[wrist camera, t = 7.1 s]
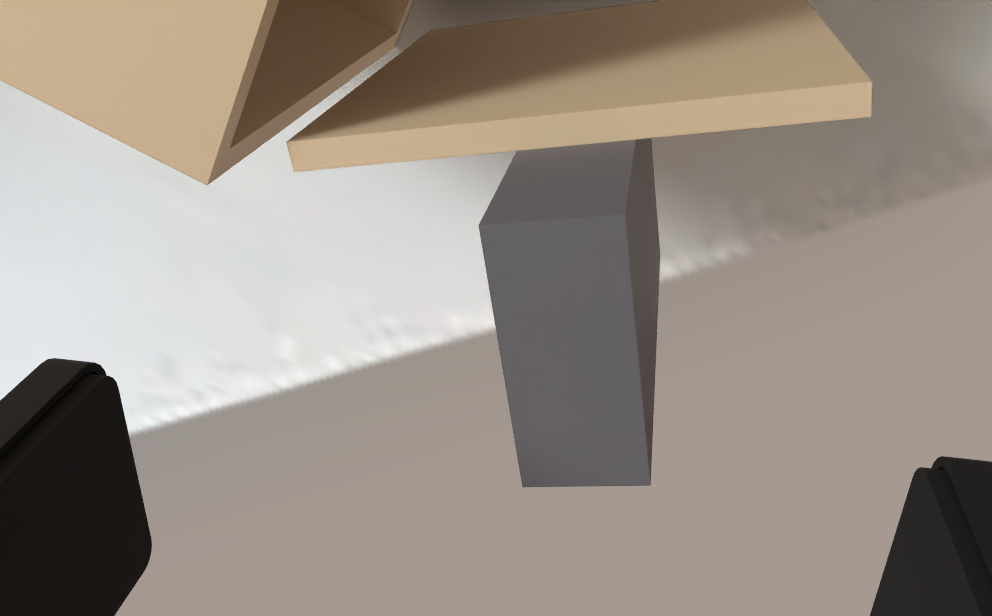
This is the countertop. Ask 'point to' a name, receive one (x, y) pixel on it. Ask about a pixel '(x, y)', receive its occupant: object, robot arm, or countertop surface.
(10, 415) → the robot arm
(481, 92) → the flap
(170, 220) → the countertop surface
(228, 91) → the carton
